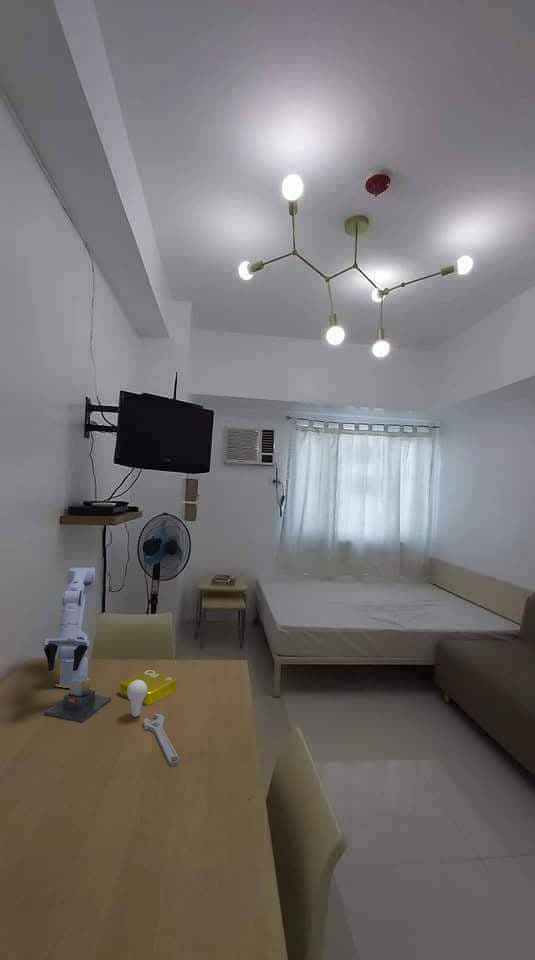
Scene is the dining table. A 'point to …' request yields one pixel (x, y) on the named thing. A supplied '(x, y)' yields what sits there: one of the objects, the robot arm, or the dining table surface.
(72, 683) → the stand column
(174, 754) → the adjustable wrench
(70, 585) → the robot arm
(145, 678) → the element tile
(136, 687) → the lightbulb
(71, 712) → the stand base
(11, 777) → the dining table surface
